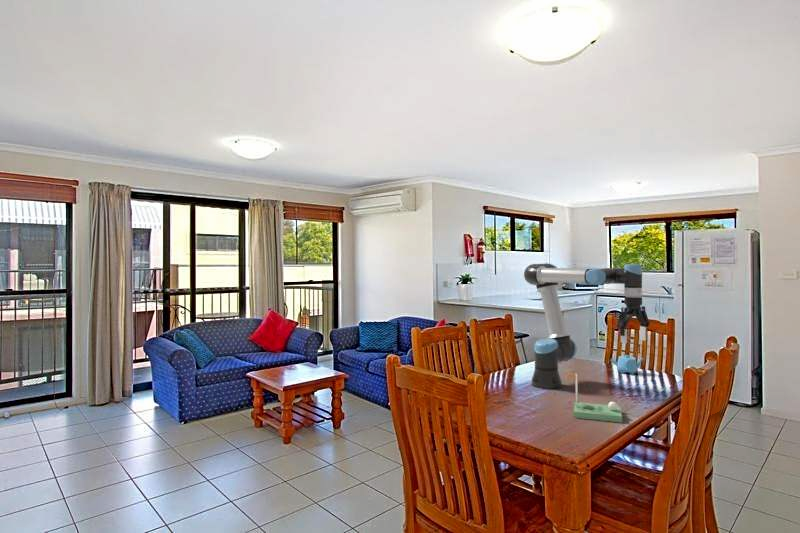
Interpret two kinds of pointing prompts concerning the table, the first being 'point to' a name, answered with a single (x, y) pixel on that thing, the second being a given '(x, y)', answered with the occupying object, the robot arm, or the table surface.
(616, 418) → the green
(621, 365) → the teapot
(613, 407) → the ball
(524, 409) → the table surface
